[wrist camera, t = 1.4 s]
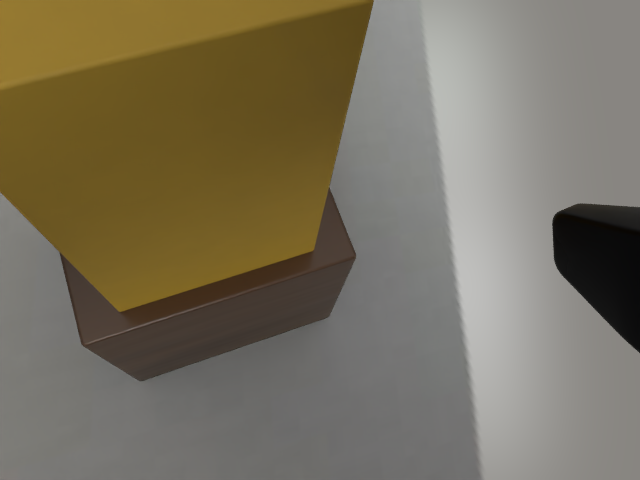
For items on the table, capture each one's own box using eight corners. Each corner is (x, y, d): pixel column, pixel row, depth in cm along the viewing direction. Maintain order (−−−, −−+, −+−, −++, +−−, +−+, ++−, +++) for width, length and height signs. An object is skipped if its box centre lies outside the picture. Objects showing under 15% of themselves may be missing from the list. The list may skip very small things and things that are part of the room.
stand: (329, 317, 22) (357, 257, 15) (139, 382, 21) (80, 347, 14) (269, 154, 24) (271, 39, 17) (92, 203, 23) (22, 99, 16)
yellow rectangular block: (243, 61, 17) (223, -324, 9) (314, 251, 15) (377, -2, 7) (64, 105, 16) (-154, -281, 8) (118, 313, 14) (-88, 107, 6)
